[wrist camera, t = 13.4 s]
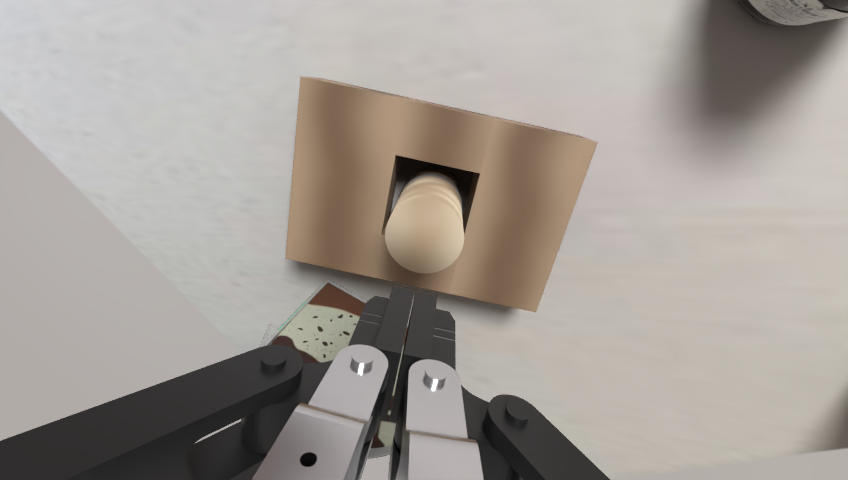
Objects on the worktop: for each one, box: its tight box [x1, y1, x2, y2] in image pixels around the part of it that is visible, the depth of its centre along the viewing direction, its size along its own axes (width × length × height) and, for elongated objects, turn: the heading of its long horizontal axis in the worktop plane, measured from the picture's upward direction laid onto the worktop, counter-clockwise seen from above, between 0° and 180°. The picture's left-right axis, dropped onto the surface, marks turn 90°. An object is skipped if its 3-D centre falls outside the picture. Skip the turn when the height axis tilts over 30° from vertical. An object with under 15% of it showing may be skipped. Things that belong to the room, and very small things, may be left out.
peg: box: [385, 169, 464, 274], centre depth 24 cm, size 4×4×10 cm
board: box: [286, 77, 598, 312], centre depth 27 cm, size 18×12×4 cm, turn 78°
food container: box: [260, 279, 408, 459], centre depth 29 cm, size 12×6×10 cm, turn 58°
